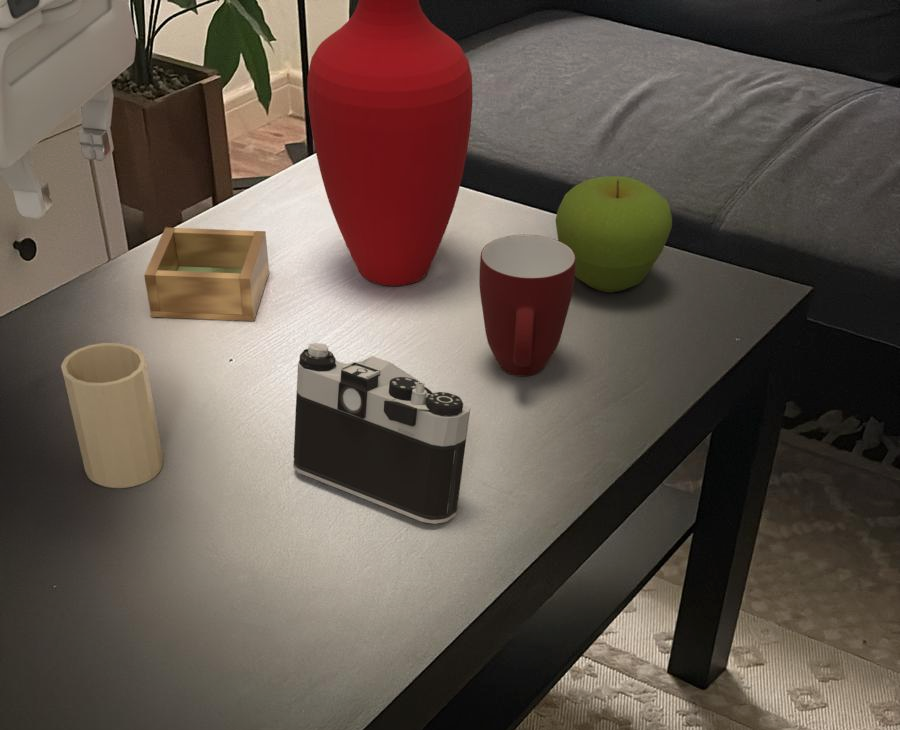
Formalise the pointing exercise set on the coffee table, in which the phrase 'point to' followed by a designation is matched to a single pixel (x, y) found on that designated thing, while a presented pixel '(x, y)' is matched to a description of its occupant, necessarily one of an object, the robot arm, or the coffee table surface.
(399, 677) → the coffee table surface
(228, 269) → the open wooden box
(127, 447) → the beige cup
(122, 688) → the coffee table surface
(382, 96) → the vase
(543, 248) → the mug
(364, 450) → the camera
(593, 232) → the apple
